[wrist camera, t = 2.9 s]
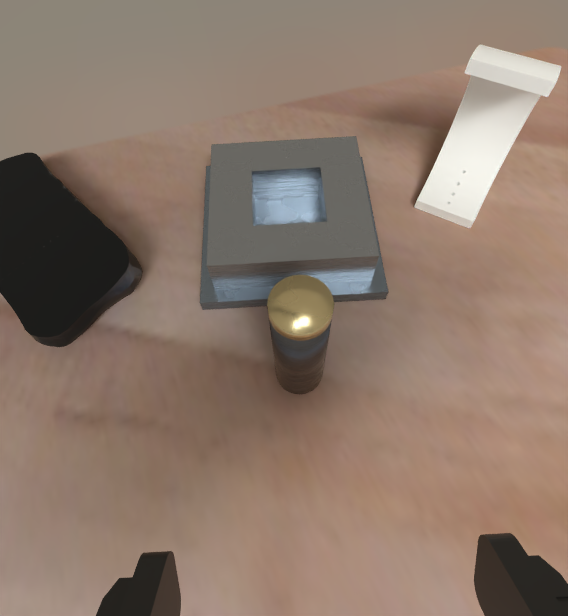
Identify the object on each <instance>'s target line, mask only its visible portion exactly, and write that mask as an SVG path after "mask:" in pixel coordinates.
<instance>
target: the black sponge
mask: <svg viewBox="0 0 568 616" xmlns="http://www.w3.org/2000/svg"><path fill="white" fill-rule="evenodd" d="M141 276H142V269H141V266H140V264H139V263H138V261H137V259H136V258H135V256H134V255H133V254H132V253H131V252H130V251H129V250H128V249H127V247H126V246H125V245H124V243H123V242H122V240H120V239H119V238H118V237H117V236H116V235H115V234H114V233H113V232H112V231H111V230H110V229H108V228H107V227H105V225H104V224H103V223H102V221H101V220H100V219H99V218H98V217H96V216H95V215H94V214H92V213H91V212H90V211H89V210H88V209H87V208H86V207H85V206H84V205H83V204H82V203H81V202H80V201H79V200H78V199H77V198H76V197H75V196H74V195H73V194H72V193H71V192H70V191H69V190H68V189H67V188H66V187H65V186H64V185H63V184H62V183H61V182H60V180H59V179H57V178H56V177H55V176H53V175H52V174H51V172H50V171H49V170H48V169H47V167H46V166H45V164H44V163H43V162H42V160H41V159H40V157H39V156H38V155H37V154H34V153H24V154H21V155H17V156H14V157H11V158H7V159H5V160H2V161H0V292H1V294H2V295H3V296H4V298H5V299H6V300H7V302H8V303H9V304H10V305H11V307H12V308H13V310H14V311H15V313H16V314H17V316H18V317H19V319H20V321H21V323H22V324H23V326H24V328H25V330H26V331H27V332H28V333H29V334H30V335H32V336H33V338H34V339H35V340H36V341H38V342H39V343H41V344H44V345H47V346H55V347H63V346H66V345H68V344H70V343H72V342H73V341H74V340H75V339H76V338H77V337H79V336H80V335H81V334H82V333H84V332H85V331H86V330H87V329H88V328H89V326H90V325H91V324H92V323H93V322H94V321H95V320H96V319H97V318H98V317H99V316H100V315H101V314H102V313H103V312H104V311H105V310H106V309H108V308H110V307H111V306H113V305H114V304H115V303H117V302H118V301H120V300H121V299H123V298H124V297H126V296H128V295H130V294H131V293H132V292H133V291H134V289H135V287H136V286H137V284H138V282H139V281H140V279H141Z"/></svg>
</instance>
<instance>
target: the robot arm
mask: <svg viewBox="0 0 568 616" xmlns="http://www.w3.org/2000/svg"><path fill="white" fill-rule="evenodd" d="M474 585H475V591H476V595H477V598H478V601H479V604H480V606H481V609H482V611H483V613H484V615H485V616H568V584H567V582H566V581H565V580H564V578H563V577H562V575H561V574H560V573H559V572H558V571H556V570H555V569H554V568H553V567H552V566H550V565H549V564H548V563H547V562H546V561H545V560H543V559H542V558H541V557H540V556H539V555H538V556H528V555H527V553H526V552H525V550H524V549H523V547H522V546H521V544H520V543H519V541H518V540H517V539H516V537H515V536H514V535H512V534H511V533H502V534H485V535H480V536H479V539H478V547H477V556H476V565H475V574H474ZM180 609H181V595H180V588H179V582H178V576H177V571H176V565H175V559H174V554H173V552H172V551H167V552H149V553H143V554H142V555H141V557H140V559H139V561H138V564H137V567H136V569H135V572H134V575H133V577H131V578H119V579H118V581H117V582H116V583H115V584H114V585H113V587H112V588H111V589H110V590H109V592H108V593H107V594H106V595H105V597H104V598H103V600H102V602H101V605H100V607H99V609H98V612H97V614H96V616H180Z"/></svg>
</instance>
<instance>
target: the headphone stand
mask: <svg viewBox="0 0 568 616" xmlns="http://www.w3.org/2000/svg"><path fill="white" fill-rule="evenodd" d="M560 71H561V66H559V65H555V64H551V63H548V62H544V61H540V60H536V59H533V58H529V57H525V56H522V55H518V54H514V53H510V52H506V51H503V50H499V49H495V48H492V47H488V46H484V45H479V46H478V47H477V48H476V50H475V51H474V53H473V54H472V56H471V58H470V60H469V63H468V65H467V68H466V71H465V73H466V74H469V75H471V77H470V80H469V83H468V86H467V88H466V91H465V94H464V96H463V99H462V101H461V104H460V107H459V109H458V111H457V114H456V116H455V119H454V121H453V124H452V126H451V128H450V131H449V133H448V135H447V138H446V140H445V142H444V144H443V147H442V149H441V151H440V153H439V156H438V158H437V160H436V162H435V164H434V167H433V169H432V171H431V173H430V175H429V177H428V179H427V181H426V183H425V185H424V187H423V189H422V191H421V193H420V195H419V197H418V199H417V201H416V204H415V207H414V208H417V209H419V210H422V211H425V212H427V213H430V214H432V215H435V216H438V217H440V218H443V219H446V220H448V221H451V222H453V223H456V224H459V225H461V226H464V227H467V228H469V229H470V228H471V226H472V224H473V223H474V221H475V218H476V216H477V214H478V212H479V210H480V207H481V205H482V203H483V201H484V199H485V197H486V195H487V193H488V191H489V189H490V187H491V185H492V183H493V181H494V179H495V177H496V175H497V173H498V171H499V169H500V167H501V165H502V163H503V161H504V159H505V158H506V156H507V154H508V152H509V150H510V148H511V146H512V145H513V143H514V141H515V139H516V137H517V135H518V134H519V132H520V130H521V128H522V126H523V125H524V123H525V121H526V119H527V118H528V116H529V114H530V113H531V111H532V109H533V107H534V106H535V104H536V103H537V101H538V99H539V98H540V96H541V95H542V96H546V97H548V96H549V94H550V92H551V91H552V89H553V87H554V86H555V84H556V82H557V79H558V77H559V74H560Z"/></svg>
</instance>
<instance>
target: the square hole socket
mask: <svg viewBox="0 0 568 616" xmlns="http://www.w3.org/2000/svg"><path fill="white" fill-rule="evenodd" d="M293 275H307V276H311V277H314V278H316V279H318V280H320V281H322V282H323V283H324V284H325V285H326V286H327V287H328V288H329V290H330V292H331V293H332V296H333V300H334V302H342V301H359V300H376V299H386V296H387V294H388V288H387V283H386V278H385V273H384V268H383V263H382V258H381V253H380V247H379V242H378V237H377V232H376V227H375V222H374V217H373V212H372V207H371V202H370V196H369V191H368V186H367V181H366V176H365V171H364V166H363V161H362V157H360V154H359V149H358V143H357V138H356V136H352V137H335V138H317V139H300V140H283V141H265V142H248V143H231V144H213V145H212V146H211V166H206V186H205V207H204V228H203V250H202V271H201V292H200V304H201V306H202V309H203V310H205V309H222V308H239V307H256V306H267V301H268V296H269V294H270V292H271V290H272V288H273V287H274V286H275V285H276V284H277V283H278V282H279V281H281V280H282V279H284V278H287V277H289V276H293Z"/></svg>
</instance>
